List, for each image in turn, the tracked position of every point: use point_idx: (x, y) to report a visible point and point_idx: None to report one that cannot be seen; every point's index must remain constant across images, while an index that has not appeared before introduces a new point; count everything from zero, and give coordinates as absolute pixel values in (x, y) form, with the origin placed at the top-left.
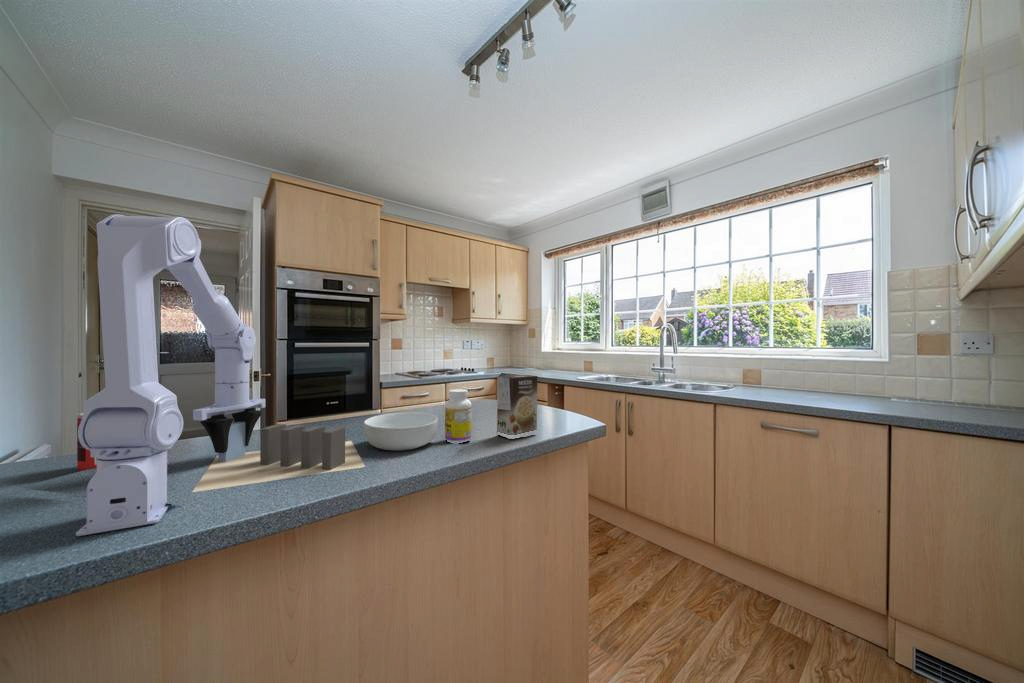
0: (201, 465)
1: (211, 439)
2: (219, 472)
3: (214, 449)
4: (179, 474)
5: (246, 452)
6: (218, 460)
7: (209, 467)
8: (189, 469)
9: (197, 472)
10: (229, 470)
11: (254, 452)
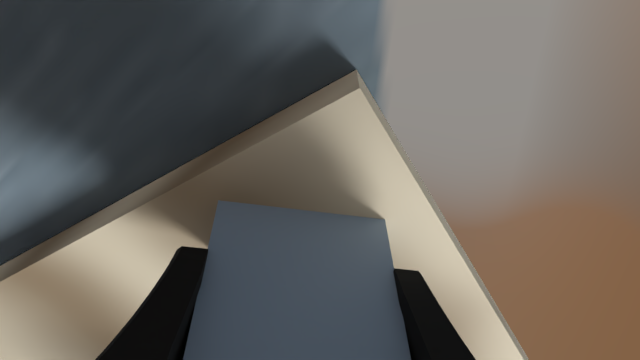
0: (225, 42)
1: (126, 328)
2: (34, 337)
3: (170, 262)
4: (2, 52)
5: (446, 233)
6: (219, 202)
7: (85, 239)
8: (117, 28)
9: (81, 140)
10: (79, 356)
11: (440, 278)
